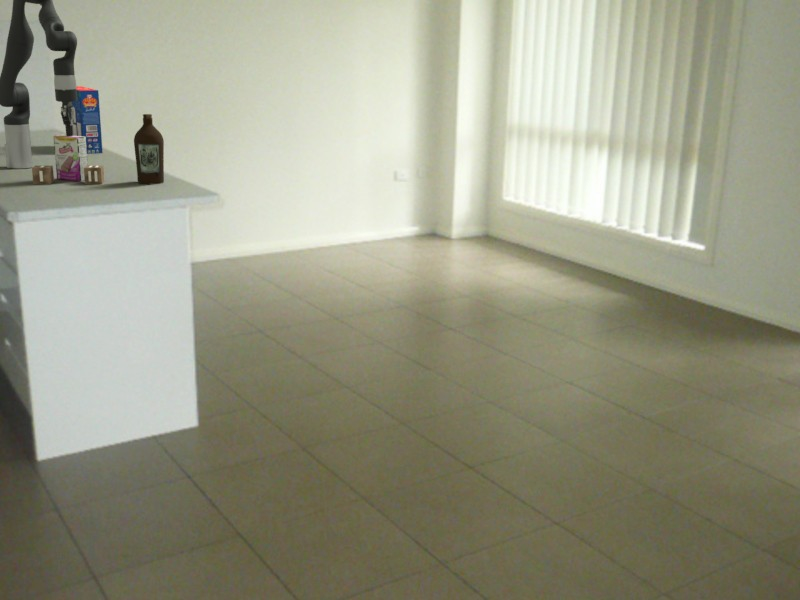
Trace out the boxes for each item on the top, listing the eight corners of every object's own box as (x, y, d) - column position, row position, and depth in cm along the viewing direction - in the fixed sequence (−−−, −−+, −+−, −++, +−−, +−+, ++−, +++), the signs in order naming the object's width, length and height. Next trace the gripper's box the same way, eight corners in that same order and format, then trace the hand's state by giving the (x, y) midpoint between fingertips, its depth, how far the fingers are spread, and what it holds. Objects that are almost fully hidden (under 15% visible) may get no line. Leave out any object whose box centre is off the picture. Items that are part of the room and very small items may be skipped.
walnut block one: (33, 184, 331) (31, 167, 330) (37, 181, 337) (35, 165, 335) (50, 184, 332) (49, 167, 330) (54, 181, 338) (52, 165, 336)
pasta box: (102, 153, 416) (98, 90, 408) (84, 154, 411) (80, 90, 403) (85, 146, 438) (80, 86, 430) (68, 146, 434) (63, 86, 426)
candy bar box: (56, 179, 342) (52, 135, 338) (64, 177, 347) (61, 134, 342) (81, 182, 339) (77, 137, 334) (89, 180, 343) (86, 136, 339)
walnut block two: (84, 184, 334) (83, 167, 332) (87, 181, 340) (86, 165, 338) (101, 184, 335) (100, 167, 333) (104, 181, 341) (103, 165, 339)
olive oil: (136, 180, 345) (133, 113, 338) (165, 179, 348) (162, 113, 341) (135, 184, 335) (131, 115, 328) (165, 184, 338) (162, 115, 331)
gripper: (58, 86, 339) (62, 134, 344) (51, 88, 326) (55, 137, 331) (79, 86, 340) (83, 134, 345) (72, 89, 328) (77, 137, 332)
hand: (69, 135), depth 338 cm, fingers closed
